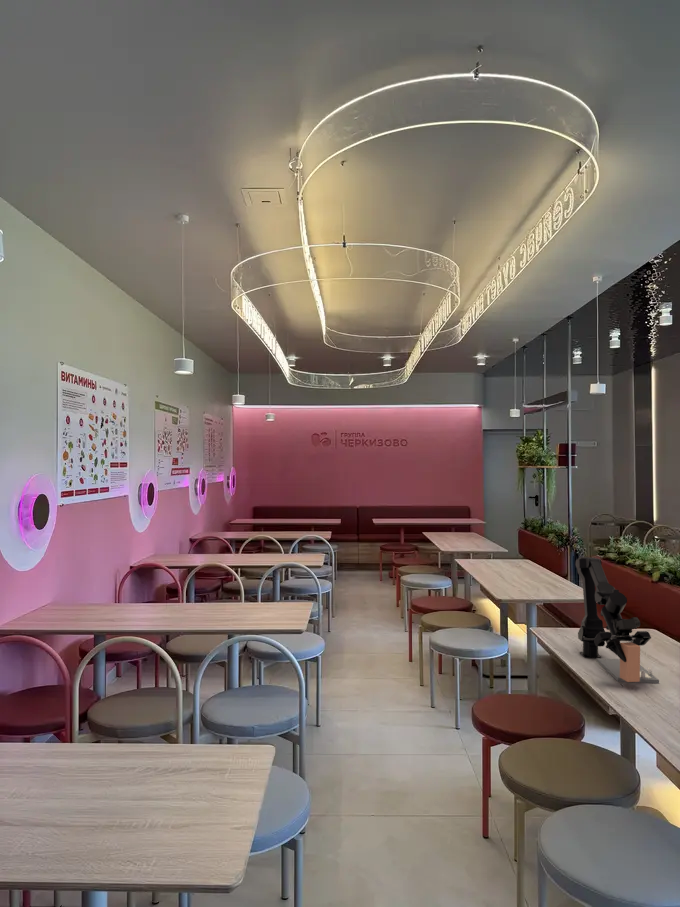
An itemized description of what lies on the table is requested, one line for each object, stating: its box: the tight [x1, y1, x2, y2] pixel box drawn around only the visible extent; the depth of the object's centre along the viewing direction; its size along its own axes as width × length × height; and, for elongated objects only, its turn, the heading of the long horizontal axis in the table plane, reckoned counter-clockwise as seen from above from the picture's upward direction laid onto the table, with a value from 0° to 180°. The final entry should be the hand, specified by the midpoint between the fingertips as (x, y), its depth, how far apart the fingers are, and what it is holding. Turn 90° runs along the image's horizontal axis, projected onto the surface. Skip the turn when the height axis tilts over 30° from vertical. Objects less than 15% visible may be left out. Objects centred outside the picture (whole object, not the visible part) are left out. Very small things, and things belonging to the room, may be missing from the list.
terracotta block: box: [619, 641, 641, 683], centre depth 208 cm, size 4×4×12 cm
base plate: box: [595, 657, 660, 684], centre depth 224 cm, size 22×14×4 cm, turn 176°
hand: (632, 661), depth 207 cm, fingers closed on terracotta block, 4 cm apart
